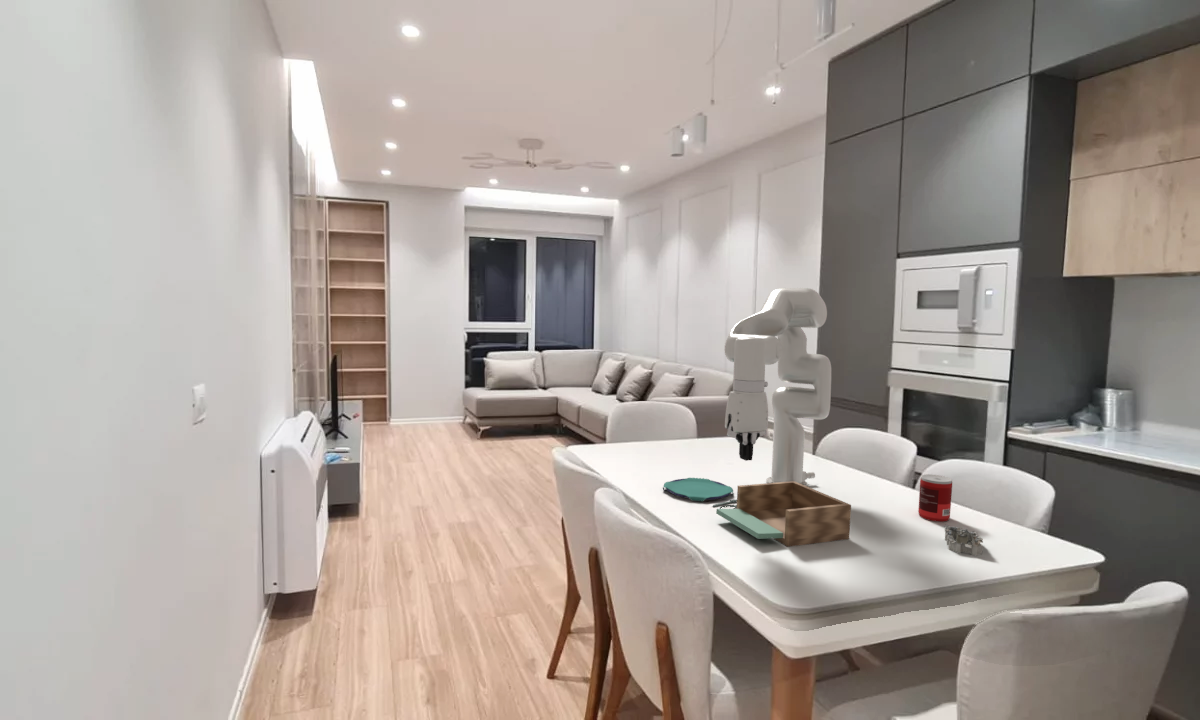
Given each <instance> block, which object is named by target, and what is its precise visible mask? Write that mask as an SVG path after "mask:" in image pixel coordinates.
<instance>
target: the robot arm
mask: <svg viewBox="0 0 1200 720" xmlns="http://www.w3.org/2000/svg"><path fill="white" fill-rule="evenodd" d="M827 316H828V309H827V304H826V303H825V301H824V299H823V298H822V297H821V295H820V293H819V292H818V291H816V290H814V289H813V288H808V287H807V288H806V287H797V288H796V287H793V288H792V287H783V288H776V289H774V290H772V291H771V292H770V293H769V294H768V296H767V298H766V299H765V301H764V303H763V305H762V307H761V308H760V310H759V312H757V313H755V314H752V315H750V316H748V317H746V318H744V319H741V320H739V322H737V323H736V324H734V326H733V327H732V329H731V330H730V332H729V333H728V335H727V338H726V340H725V343H724V344H725V345H724V355H725V357H726V359H727V360H728V361H730V362H732V363H733V378H732V379H733V383H732V391H729V394H728V398H727V402H726V408H725V414H724V415H725V416H724V417H725V418H724V428H725V429H726V430H727V433H726V436H727V437H729V438H734V439H735V440H736V441H737V442H738V444H739V448H738V449H739V450H738V451H739V452H738V455H739V458H740V459H741V460H744V461H745V462H746V461H752V460H753V456H754V455H753V454H754V445H756V443H757V440H758V439H759V437H762V436H765V435H767V429H768V425H769V404H768V397H767V393H766V391H765V388H766V387H768V386H769V383H768V381H766V380H765V379H766V377H765V375H766V366H767V365H768V366H769V365H774V364H776V363H777V375H778V379H780V381H782V382H785V383H789V384H790V383H791V384H800V385H802V384H803V385H811V386H813V387H814V388H810V387H809V388H807V387H801V386H800V387H799V386H798V387H797V386H781V387H778V388H776V389H775V390H774V391H773V393H772V395H771V405H772V414H773V415H772V416H773V434H772V435H773V436H772V437H773V439H772V458H771V459H772V461H771V476H769V477H767V478H766V480H765V482H766V483H777V482H789V481H795V482H797V483H800V484H802V485H805V486H807V487H808V482H807V481H806V480H808V479H815V478H816V473H815V472H814V471H812V472H807V471H804V457H805V456H804V453H805V439H806V438H805V435H806V434H805V429H804V427H803V425H802V423H801V422H800V420H799V419H809V420H817V421H821V420H824V419H826V418H828V416H829V414H830V410H831V399H832V398H831V395H832V394H831V393H832V365H831V364H832V363H831V361H830V359H829V357H828V356H826V355H825V354H819V353H808V352H807V349H808V348H807V346H808V345H807V342H808V341H807V340H808V339H807V335H806V332H804V330H803V328H807V329H808V328H809V329H811V328H813V329H816V328H817V329H818V328H821V327H822V326H824V324H825V323H826V321H827Z"/></svg>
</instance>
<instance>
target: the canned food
mask: <svg viewBox="0 0 1200 720" xmlns="http://www.w3.org/2000/svg"><path fill="white" fill-rule="evenodd" d="M952 492H953V479H952V478H950V477H948V476H945V475H944V476H943V475H940V474H933V473H931V474H929V473H928V474H922V475H921V476H920V480H919V496H918V510H917V511H918V515H919V517H920V518H922V519H924V520H928V521H932V522H936V523H937V522H939V523H941V522H942V523H944V522H947V521H949V520H950V517H951V510H952V508H951V506H952V495H953V494H952Z"/></svg>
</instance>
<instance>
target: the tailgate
mask: <svg viewBox="0 0 1200 720" xmlns="http://www.w3.org/2000/svg"><path fill="white" fill-rule="evenodd" d="M716 514H717V515H718V516H720V517H721V518H723V519H725V520H727V521H729V522H730V523H731V524H732V525H734V526H736V527H738V528H740V529H741V530H743V531H745V532H746V533H748V534H750V536H752V537H754V538H756V539H761V540H762V539H766V540H767V539H773V538H783V533H782V532H780V531H779V530H777V529H775V528H773V527H771V526H770V525H768V524H766V523H764V522H763V521H761V520H759V519H757V518H755V517H754V516H752V515H750V514H748V513H746V512H745V511H743V510H741V509H737V508H735V509H733V508H722V509H720V508H717V509H716Z"/></svg>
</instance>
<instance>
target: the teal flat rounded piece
mask: <svg viewBox="0 0 1200 720" xmlns="http://www.w3.org/2000/svg"><path fill="white" fill-rule="evenodd" d="M664 489H665V490H666V491H667V492H668V493H671V494H673V495H674V496H678V497H680V498H686V499H689V500H691V501H692V502H704V501H711V500H712V501H713V500H721V499H723V498H726V497H729V496H730V495H731V496H734V490H733V488H732V487H731V486H729V485H726V484H724V483H722V482H719V481H715V480H712V479H709V478H704V477H703V478H701V477H687V478H677V479H674V480H670V481H666V482H664V484H663V486H662V490H663V491H664ZM732 503H737V499H729V501H724V502H719V503H715V504H713V505H712V508H716V507H715V506H717V507H719V509H721V508H722V507H724V508H728V507H727V506H730V507H729V508H732V509H737V504H736V505H734V504H732ZM724 504H725V505H724ZM719 505H721V506H719ZM725 506H726V507H725ZM733 507H735V508H733ZM722 509H723V508H722Z"/></svg>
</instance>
